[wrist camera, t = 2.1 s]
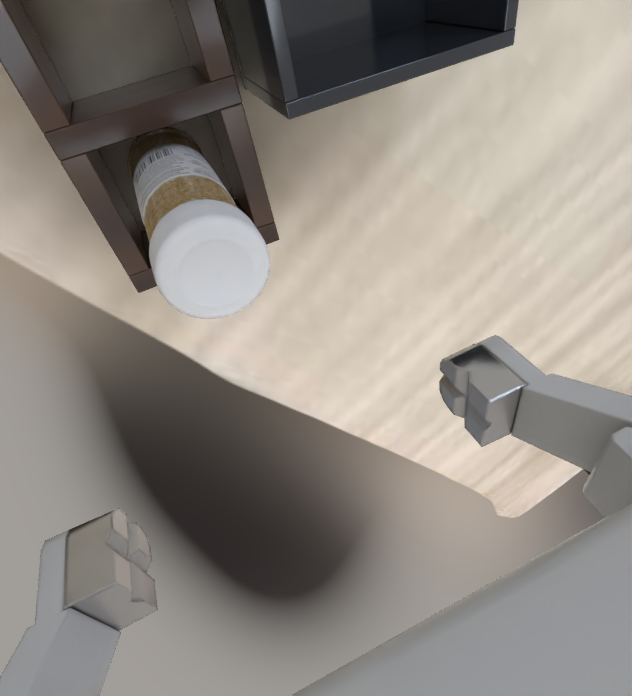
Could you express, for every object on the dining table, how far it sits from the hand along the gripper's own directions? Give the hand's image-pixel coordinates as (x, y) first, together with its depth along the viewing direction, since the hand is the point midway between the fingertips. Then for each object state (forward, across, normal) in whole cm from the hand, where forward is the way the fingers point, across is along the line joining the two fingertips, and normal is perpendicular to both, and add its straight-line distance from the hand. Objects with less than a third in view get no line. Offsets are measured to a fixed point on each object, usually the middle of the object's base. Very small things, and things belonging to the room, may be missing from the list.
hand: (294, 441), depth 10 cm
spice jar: (+22, 0, 0) cm, 22 cm away
